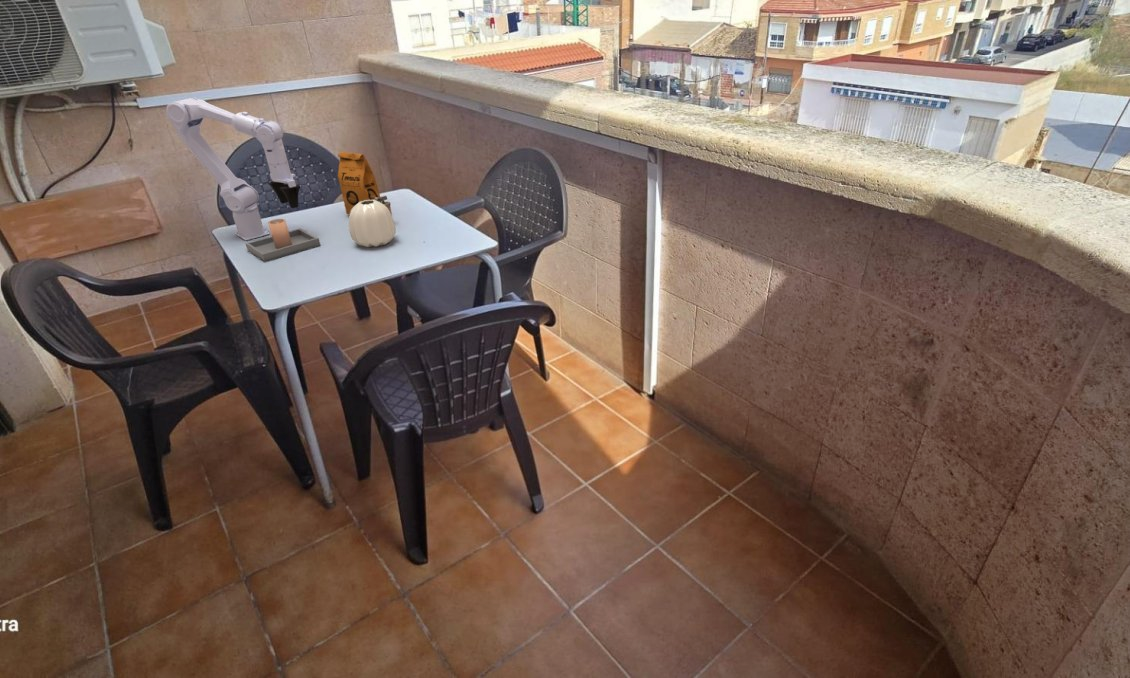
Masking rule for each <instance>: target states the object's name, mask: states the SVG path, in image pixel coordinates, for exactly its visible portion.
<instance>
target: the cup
mask: <svg viewBox="0 0 1130 678" xmlns="http://www.w3.org/2000/svg"><path fill="white" fill-rule="evenodd" d="M267 224H268V228H269V231H270V234H271V236H272V238H273V241H274V245H275V248H277V249H280V248H283V247H287V246H290V245H292V242H291V238H290V235H289V231H290V230H289V228H288V224H287V222H286V219H284V218H275V219H272V220H269V221H268V222H267Z"/></svg>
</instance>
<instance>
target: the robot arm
mask: <svg viewBox="0 0 1130 678" xmlns="http://www.w3.org/2000/svg"><path fill="white" fill-rule="evenodd" d="M165 117H166V119H167V120H168V121H170V122H169V123H171V124H172V125H173V128H174V130H175V132H176V134H177V137H178V138H179V139H180V140H181V142H182V143H183V144H184V145H185V146H186V148H187V149H188V150H189V151H190V152H191V153H192V155H193V156H194V158H196V159H197V160H198V162H199V163H200V164H201V165H202V166H203V168H204V169H205V170H206V171H207V172H208V173H209V174H210V176H211V177H212V178H213V179H214V181H216V183H217V184H218V185H219V186H220V193H219V195H220V197H221V198H223V201H224V204H225V206H226V207H227V208H228V209H229V210H230V211H231V212H232V219H233V221H234V224H235V226H236V232H235V233H234V235H236V236H238V237H239V238H241V239H243V240H244V241H250V240H253V239H256V238H257V239H258V238H262V237H264V236H267V235H270V234H271V232H269V231H268V230H265V228H264V225H263V221H262V218H261V215H260V211H259V207H258V201H259V199H260V196H259V192H258V191H257V190H256V189H255V188H254V187H253V186H251V185H249V184H248V183H247V181H246V180H244V179H241V178H238V177H236V175H235V174H234V173H233V172H232V170H230V168H229V167H228V166H227V165H226V164H225V162H224V160H223V159H221V157H220V156H219V155H218V154H217V153H216V152H215V150H214V149H213V147H211V145H210V144H209V143H208V142H207V141H206V140H205V138H204V137H203V136H202V135H201V133H200V129H201V126H202V124H203V121H204V119H205V118H207V119H211V120H213V121H216V122H220V123H223V124H227V125H231V126H233V129H234V130H235V131H236V132H238V133H241V134H245V135H247V136H251V137H252V138H256V139H257V141H258V142H259V143H260V144H261V147H262V148H263V150H264V154H265V158H266V162H267V165H268V168H269V172H270V173H269V176H270V180H271V181H269V182H268V183H267V184H268V185H269V186H270V187H271V189H273V191H274V193H275V194H276V196H277V199H278V200H279V201H280V203H281V204H286V203H288V205H289V206H290V208H291V209H294V208H295V209H297V208H299V194H300V193H299V192H300V190H301V185H299V184H297V183H296V180H295V179H294V178H296V174H295V173H292V172H291V169H290V165H289V161H288V158H287V154H286V150H285V147H284V142H283V139H282V138H283V136H284V129H283V127H282V125H281V124H280V123H279V122H277V121H275V120H273V119H270V120H265V119H264V118H263V117H262V118H261V117H260V118H258V117H256V116H252V115H250V114H249V112H247V111H241V112H237V113H236V114H235V113H233V112H231V111H228V110H226V109H223V108H220V107H218V106H216V105H213V104H210V103H208V102H206V101H205V100H204V99H201V98H200V99H199V98H197V97H194V96H191V97H190V96H189V97H187V98H184V99H181V100H176V101H171V102H169V103H168V104H167V105H166V114H165Z"/></svg>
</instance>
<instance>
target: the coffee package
mask: <svg viewBox="0 0 1130 678" xmlns="http://www.w3.org/2000/svg"><path fill="white" fill-rule="evenodd" d="M337 156H338V158H339V164H338V172H337V179H338V183H339V187H340V193H341V195H342V200H343V204H344V207H345V213H346V215H350V212H351V209H352V208H353V207H354V206H355V205H356V204H358V203H359V202H361V201H364V200H374V199H375V197H377V198H380V197H381V193H380V190H379V187H378V184H377V180H376V177H375V174H374V172H373V169H372V168H371V166H370V164H369V161H368V160H367V159H366V156H365V155H364V153H355V152H348V151H347V152H344V151H343V152H342V151H339V152H338V154H337Z"/></svg>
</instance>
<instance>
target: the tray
mask: <svg viewBox="0 0 1130 678" xmlns="http://www.w3.org/2000/svg"><path fill="white" fill-rule="evenodd" d="M288 231H289V235H290V238H291V242H292V245H290V246H287V247H283V248H280V249H277V248H275V245H274V241H273V238H272V235H271V236H268V237H267V236H266V237H264V238H260V239H257V240H252V241H249V242H246V243H245V247H246V250H247V251H248V252H249V253H250V254H252V255H253V256H255V257H256V258H258V259H259V260H261V261H263V262H264V263H266V262H267V263H268V262H271V261H275V260H278V259H282V258H283V257H284V258H285V257H287V256H290V255H294V254H297V253H301V252H304V251H308V250H311V249H314V248H317V246H318V247H321V242H320V238H319V237H317V236H316V235H314V234H311V233H309V232H308V231H306V230H304V229H302V228H297V229H293V230H288Z"/></svg>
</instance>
